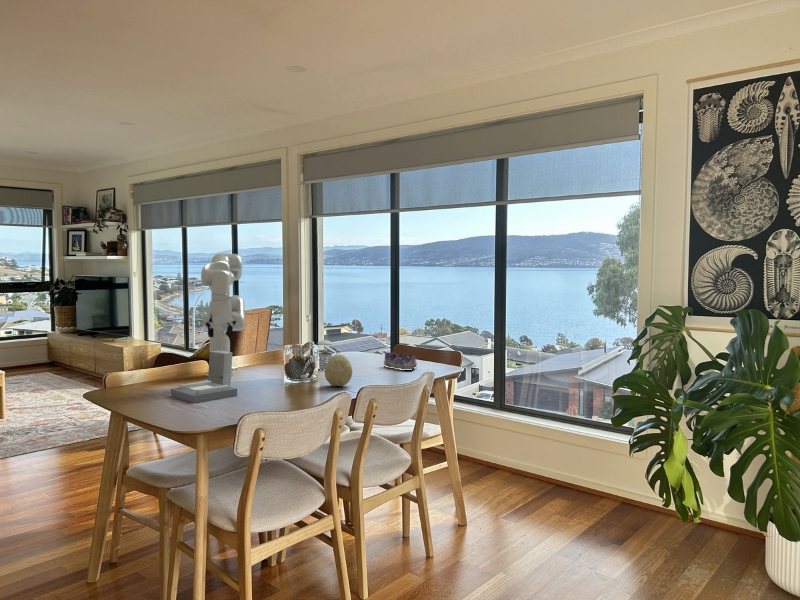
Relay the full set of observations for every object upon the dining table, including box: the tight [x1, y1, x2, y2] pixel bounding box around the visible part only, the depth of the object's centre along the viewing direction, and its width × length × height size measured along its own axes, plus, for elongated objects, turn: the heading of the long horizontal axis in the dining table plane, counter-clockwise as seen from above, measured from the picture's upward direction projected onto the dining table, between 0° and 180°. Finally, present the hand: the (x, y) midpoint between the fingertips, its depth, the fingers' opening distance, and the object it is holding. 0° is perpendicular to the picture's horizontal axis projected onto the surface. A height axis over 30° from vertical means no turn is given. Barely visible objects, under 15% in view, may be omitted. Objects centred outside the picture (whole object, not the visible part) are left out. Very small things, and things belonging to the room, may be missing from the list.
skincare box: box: [207, 351, 233, 387], centre depth 278 cm, size 8×7×16 cm
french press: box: [317, 321, 338, 369], centre depth 331 cm, size 10×12×25 cm
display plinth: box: [170, 380, 238, 404], centre depth 258 cm, size 20×18×4 cm
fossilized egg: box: [324, 353, 353, 387], centre depth 284 cm, size 13×13×15 cm
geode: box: [383, 350, 418, 370], centre depth 337 cm, size 20×12×10 cm, turn 59°
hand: (220, 336), depth 277 cm, fingers open, 9 cm apart
